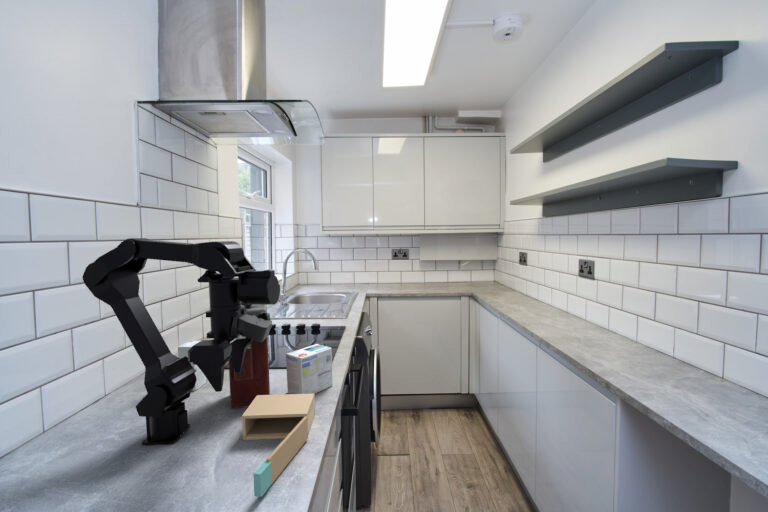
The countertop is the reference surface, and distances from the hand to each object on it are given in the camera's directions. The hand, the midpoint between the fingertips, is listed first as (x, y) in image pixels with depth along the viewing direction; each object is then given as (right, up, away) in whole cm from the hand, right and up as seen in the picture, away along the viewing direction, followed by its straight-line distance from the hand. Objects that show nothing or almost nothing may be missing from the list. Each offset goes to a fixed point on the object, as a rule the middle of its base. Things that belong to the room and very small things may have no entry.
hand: (229, 381), depth 69 cm
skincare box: (-22, -11, +26) cm, 36 cm away
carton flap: (+14, -12, -8) cm, 20 cm away
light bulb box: (+11, -11, +23) cm, 28 cm away
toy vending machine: (-2, -11, +18) cm, 21 cm away
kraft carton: (+9, -12, +5) cm, 16 cm away
